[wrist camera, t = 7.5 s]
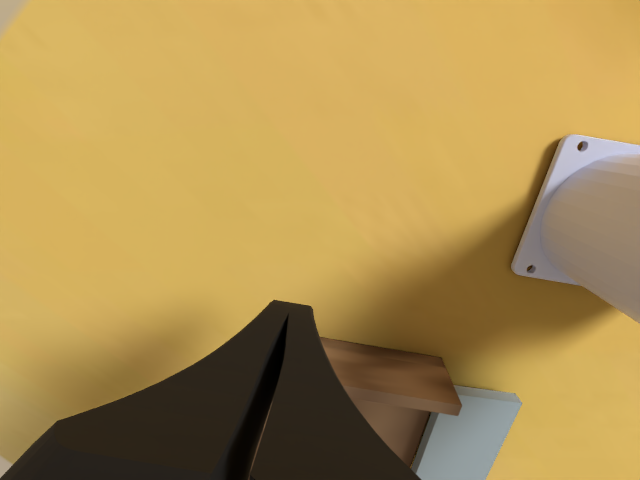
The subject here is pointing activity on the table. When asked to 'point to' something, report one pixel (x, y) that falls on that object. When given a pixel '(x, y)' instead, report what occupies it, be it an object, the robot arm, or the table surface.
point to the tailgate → (466, 436)
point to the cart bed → (392, 391)
